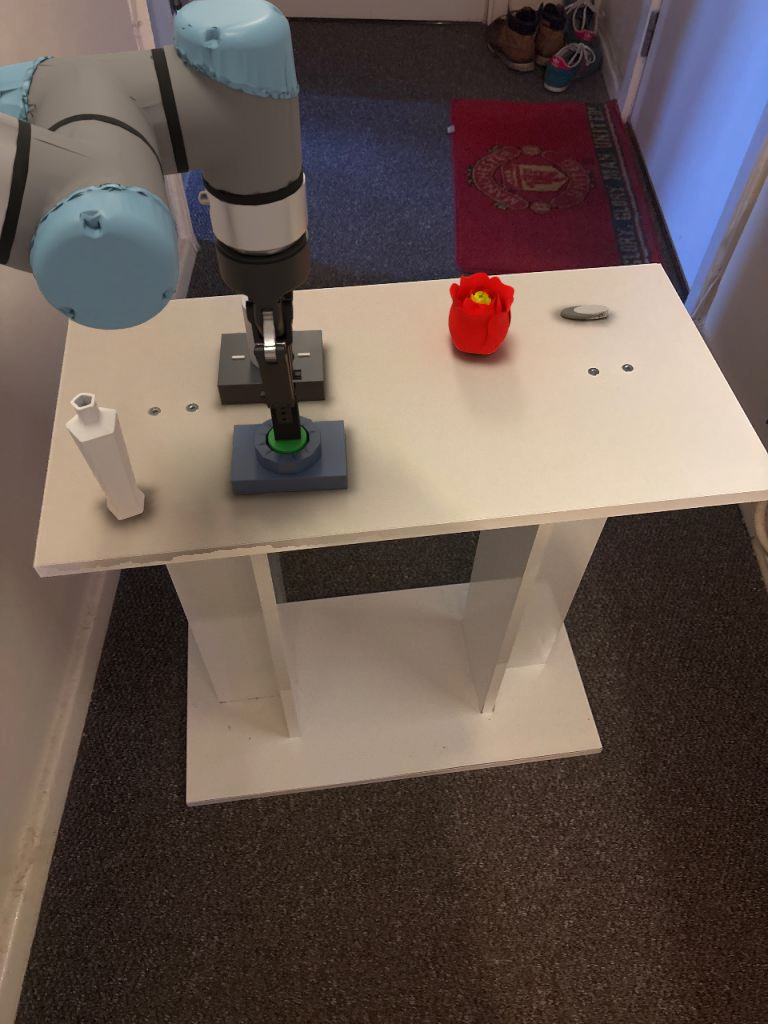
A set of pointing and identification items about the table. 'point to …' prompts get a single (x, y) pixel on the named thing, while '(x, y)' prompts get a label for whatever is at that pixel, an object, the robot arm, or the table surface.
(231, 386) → the dial panel
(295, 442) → the button
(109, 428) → the perfume bottle
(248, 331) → the dial
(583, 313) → the oval pebble
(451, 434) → the table surface
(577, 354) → the table surface
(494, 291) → the flower
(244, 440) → the button block
